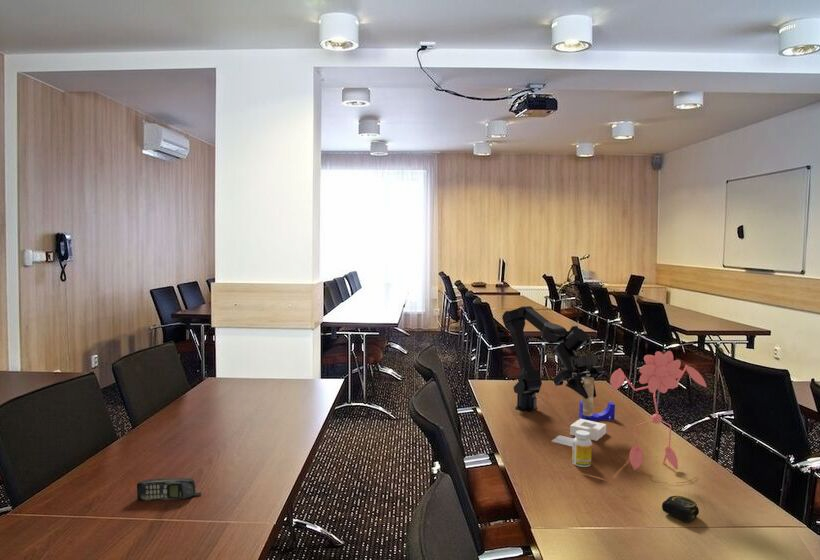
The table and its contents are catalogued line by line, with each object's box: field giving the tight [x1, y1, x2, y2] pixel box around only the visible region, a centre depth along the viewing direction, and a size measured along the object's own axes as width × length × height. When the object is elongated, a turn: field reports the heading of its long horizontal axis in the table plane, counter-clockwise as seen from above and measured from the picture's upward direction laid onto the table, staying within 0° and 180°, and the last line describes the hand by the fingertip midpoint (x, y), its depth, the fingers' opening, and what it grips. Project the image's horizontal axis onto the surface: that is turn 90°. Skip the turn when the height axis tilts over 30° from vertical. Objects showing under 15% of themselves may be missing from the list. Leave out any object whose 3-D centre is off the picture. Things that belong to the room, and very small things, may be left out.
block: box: [569, 418, 607, 442], centre depth 183 cm, size 9×9×4 cm
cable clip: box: [578, 400, 616, 422], centre depth 199 cm, size 12×4×6 cm, turn 87°
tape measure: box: [661, 495, 700, 523], centre depth 130 cm, size 7×7×4 cm
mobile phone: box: [136, 477, 202, 501], centre depth 136 cm, size 5×3×15 cm
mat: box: [550, 434, 574, 448], centre depth 176 cm, size 8×7×1 cm
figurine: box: [609, 350, 707, 484], centre depth 152 cm, size 15×26×35 cm, turn 89°
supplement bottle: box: [571, 430, 593, 468], centre depth 158 cm, size 5×5×10 cm
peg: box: [582, 377, 595, 416], centre depth 181 cm, size 3×3×12 cm
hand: (591, 397), depth 180 cm, fingers closed on peg, 3 cm apart
